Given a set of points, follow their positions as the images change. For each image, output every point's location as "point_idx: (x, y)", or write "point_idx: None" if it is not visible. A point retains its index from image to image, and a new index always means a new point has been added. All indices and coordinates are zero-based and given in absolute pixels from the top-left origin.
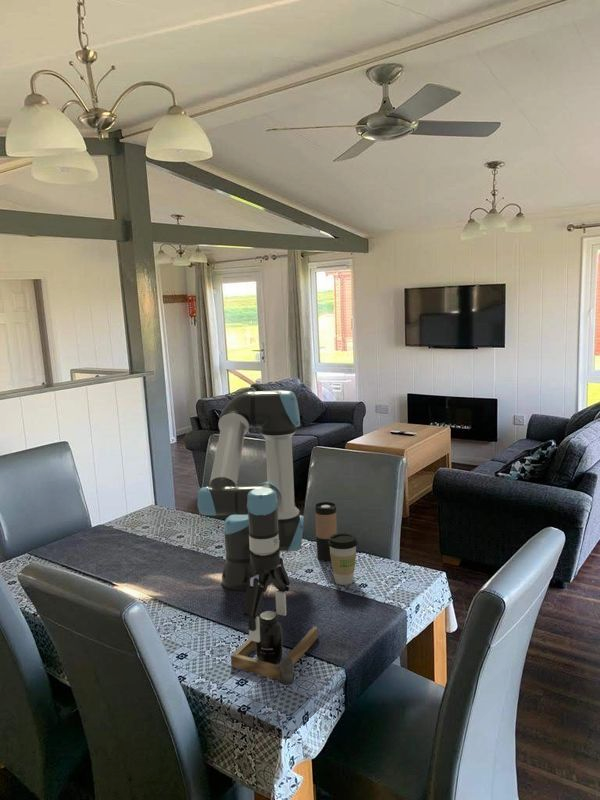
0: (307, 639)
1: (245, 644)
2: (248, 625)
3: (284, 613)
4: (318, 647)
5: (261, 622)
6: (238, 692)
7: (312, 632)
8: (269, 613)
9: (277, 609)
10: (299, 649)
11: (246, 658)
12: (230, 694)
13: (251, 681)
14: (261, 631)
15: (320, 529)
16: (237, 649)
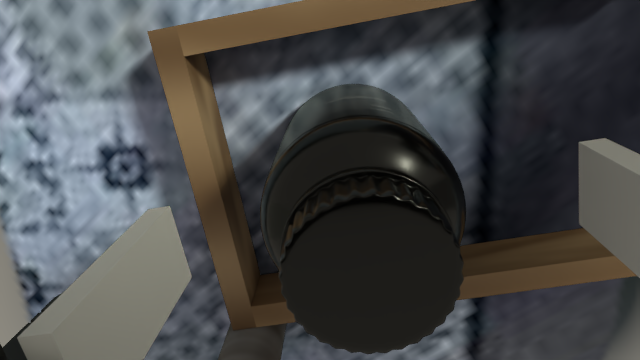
0: (538, 285)
1: (293, 21)
2: (32, 321)
3: (590, 227)
4: (555, 288)
5: (283, 244)
6: (66, 204)
7: (613, 276)
8: (401, 269)
9: (601, 169)
10: None
11: (188, 135)
12: (32, 185)
13: (157, 200)
14: (267, 231)
15: None
16: (219, 18)
